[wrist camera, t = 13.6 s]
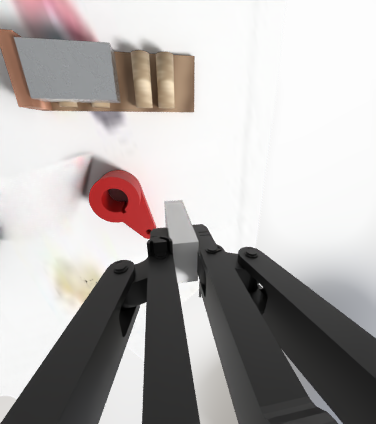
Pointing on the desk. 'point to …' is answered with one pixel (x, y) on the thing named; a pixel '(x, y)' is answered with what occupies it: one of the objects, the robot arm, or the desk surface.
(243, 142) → the desk surface
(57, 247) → the desk surface
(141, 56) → the cylinder
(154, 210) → the desk surface
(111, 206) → the lever
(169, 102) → the roller
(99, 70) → the slab
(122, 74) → the board
